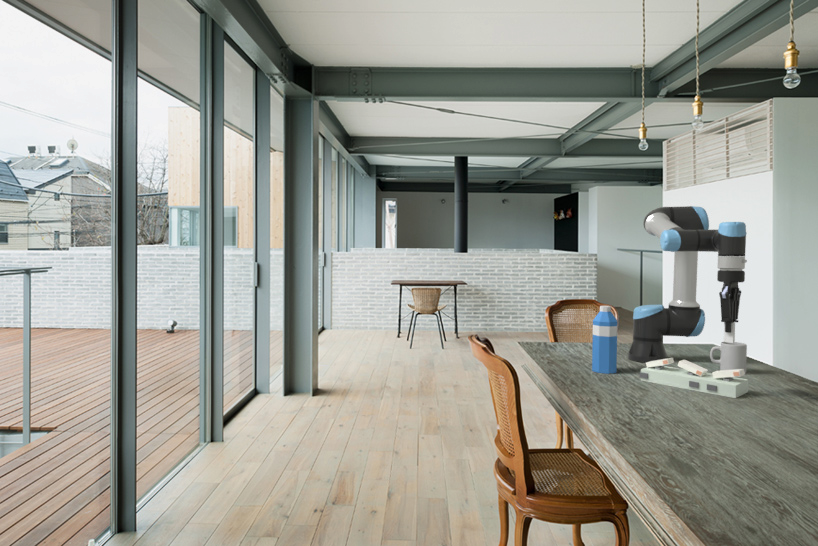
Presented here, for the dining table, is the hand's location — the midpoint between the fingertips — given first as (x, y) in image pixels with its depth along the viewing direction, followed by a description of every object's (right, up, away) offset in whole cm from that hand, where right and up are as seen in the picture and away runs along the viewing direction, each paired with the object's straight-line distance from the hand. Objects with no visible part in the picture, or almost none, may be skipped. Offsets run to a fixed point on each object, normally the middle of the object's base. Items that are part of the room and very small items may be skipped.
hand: (729, 342), depth 169 cm
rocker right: (0, -10, 0) cm, 10 cm away
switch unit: (-7, -16, +9) cm, 20 cm away
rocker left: (-14, -10, +17) cm, 24 cm away
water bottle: (-29, -15, +31) cm, 45 cm away
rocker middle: (-7, -10, +9) cm, 15 cm away
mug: (+19, -16, +31) cm, 39 cm away
